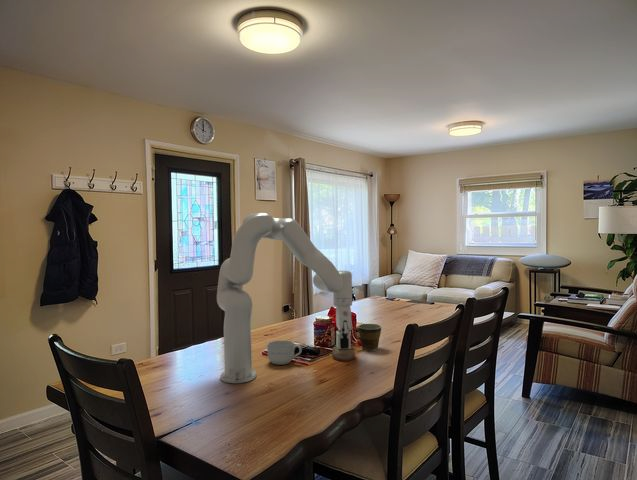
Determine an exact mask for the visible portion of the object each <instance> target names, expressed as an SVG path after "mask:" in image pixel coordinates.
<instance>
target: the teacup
mask: <svg viewBox="0 0 637 480" xmlns="http://www.w3.org/2000/svg"><path fill="white" fill-rule="evenodd" d="M266 345H267V348H266V349H267V359H268V360H269V362H271V363H272V364H274V365H278V366H279V365H281V366H282V365H287V364H289V363H291V361H292V360H294V359H296V357H299V356H300V355H301V353H302V351H303V348H302V346H301V345H300V344H297V343H296V344H295V342H294V341H293V340H287V339H282V340H281V339H280V340H273V341H269V342H267V343H266ZM297 348H298V352H297V353H296V354H295V350H296V349H297Z"/></svg>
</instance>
